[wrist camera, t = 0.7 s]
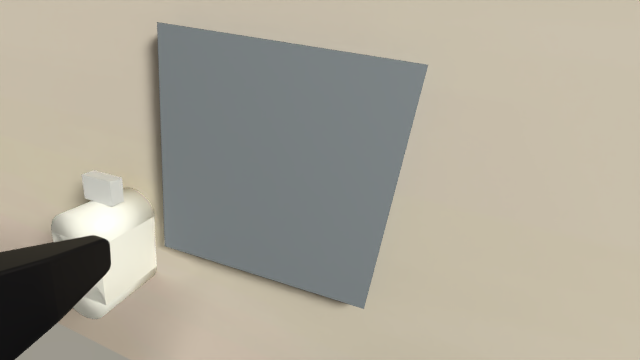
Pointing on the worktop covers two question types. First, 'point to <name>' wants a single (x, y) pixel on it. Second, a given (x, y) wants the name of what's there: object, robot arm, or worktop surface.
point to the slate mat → (282, 155)
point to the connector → (112, 238)
